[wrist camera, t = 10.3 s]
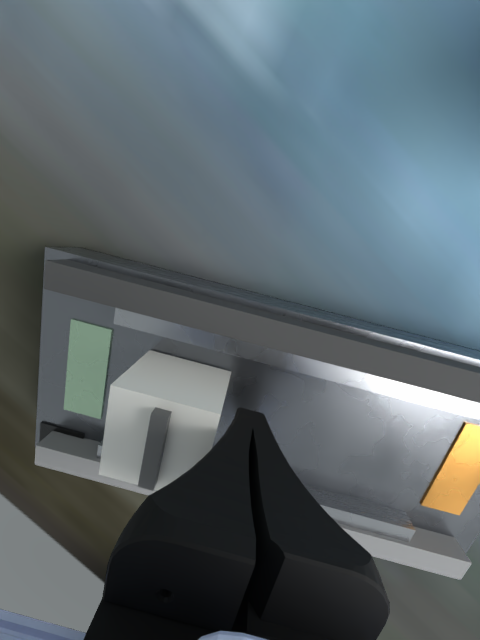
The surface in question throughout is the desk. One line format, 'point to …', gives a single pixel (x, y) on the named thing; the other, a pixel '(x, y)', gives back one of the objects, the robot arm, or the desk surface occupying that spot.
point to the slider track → (282, 402)
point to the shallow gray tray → (280, 335)
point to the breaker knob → (161, 419)
